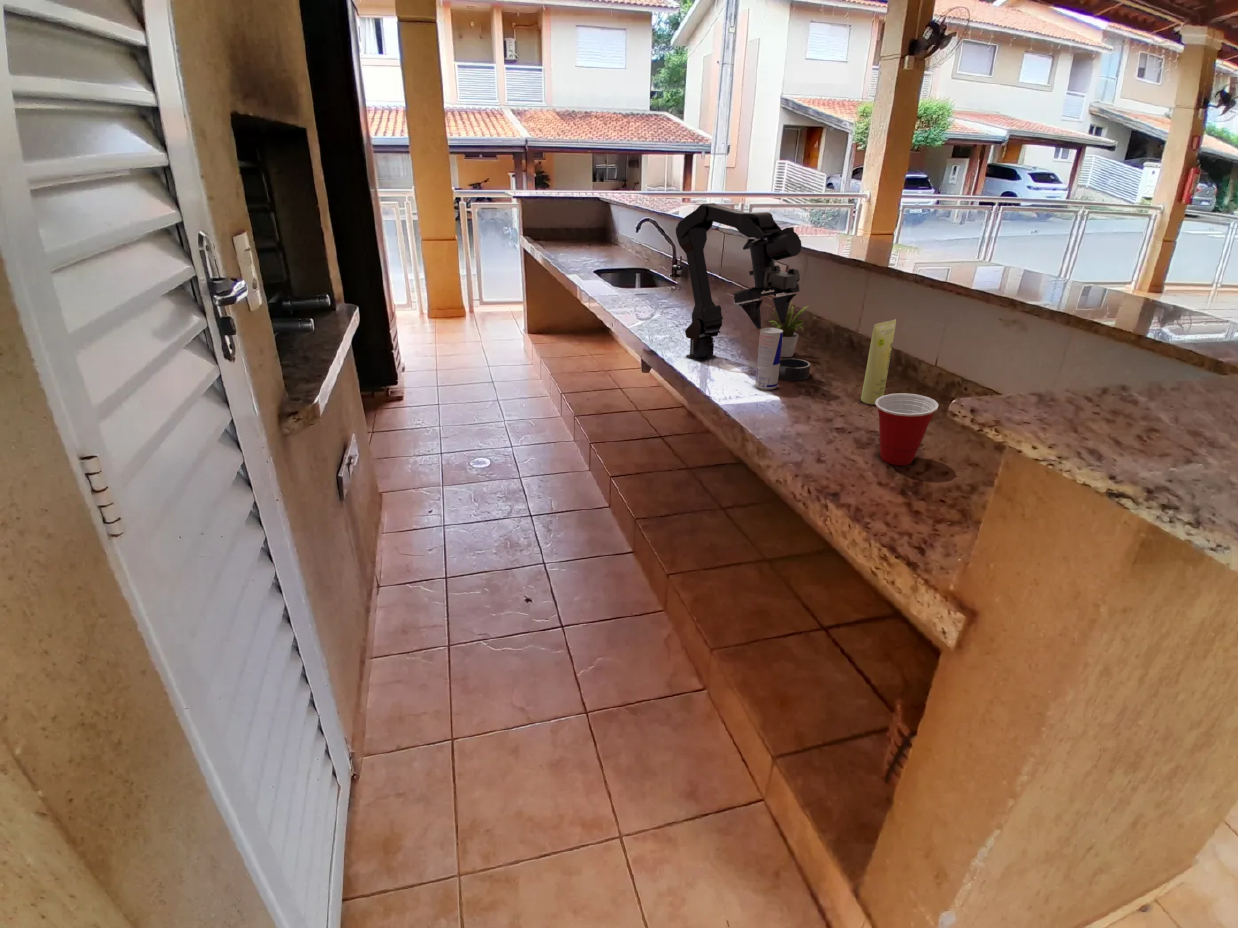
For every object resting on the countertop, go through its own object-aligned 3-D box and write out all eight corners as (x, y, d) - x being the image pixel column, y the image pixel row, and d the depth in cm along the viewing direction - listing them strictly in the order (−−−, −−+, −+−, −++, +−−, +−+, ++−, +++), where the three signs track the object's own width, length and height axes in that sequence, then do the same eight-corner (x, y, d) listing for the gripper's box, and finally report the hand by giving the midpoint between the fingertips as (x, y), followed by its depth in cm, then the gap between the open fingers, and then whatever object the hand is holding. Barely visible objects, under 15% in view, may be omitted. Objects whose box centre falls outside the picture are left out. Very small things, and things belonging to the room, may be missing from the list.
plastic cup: (856, 449, 124) (865, 392, 119) (907, 446, 125) (919, 390, 120) (881, 473, 114) (892, 413, 109) (936, 470, 115) (951, 410, 110)
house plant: (751, 358, 183) (756, 303, 176) (760, 347, 194) (765, 294, 187) (801, 363, 178) (807, 306, 171) (806, 351, 189) (813, 297, 182)
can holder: (767, 375, 168) (768, 363, 167) (786, 368, 174) (787, 356, 172) (796, 383, 162) (797, 370, 160) (815, 375, 167) (817, 363, 166)
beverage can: (777, 391, 156) (783, 332, 150) (755, 390, 157) (760, 332, 151) (776, 384, 161) (782, 327, 155) (755, 383, 162) (760, 326, 156)
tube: (883, 407, 145) (898, 324, 137) (860, 405, 147) (874, 323, 138) (881, 399, 150) (896, 319, 142) (859, 397, 152) (873, 318, 143)
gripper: (761, 261, 145) (770, 328, 148) (812, 254, 155) (819, 317, 158) (728, 270, 154) (737, 332, 157) (778, 263, 164) (786, 322, 167)
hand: (771, 326), depth 160 cm, fingers open, 9 cm apart
